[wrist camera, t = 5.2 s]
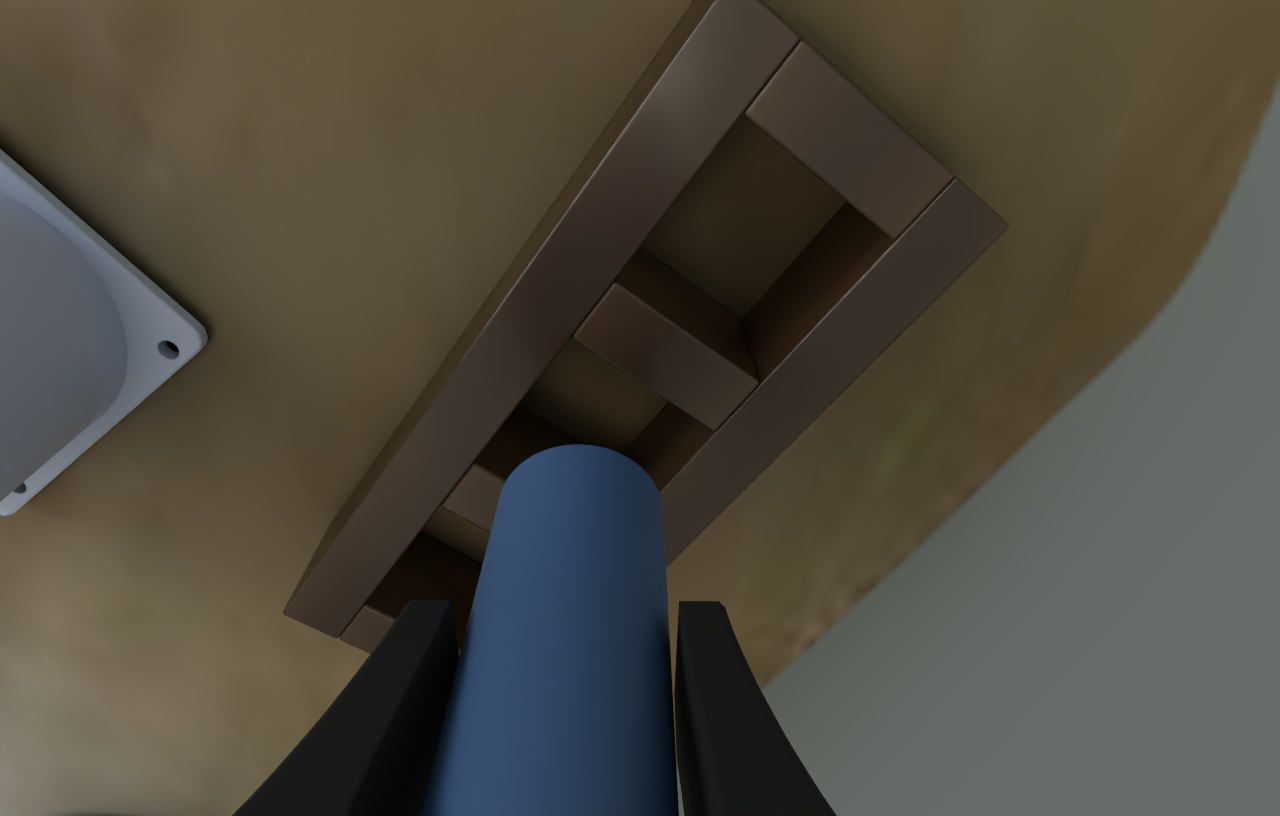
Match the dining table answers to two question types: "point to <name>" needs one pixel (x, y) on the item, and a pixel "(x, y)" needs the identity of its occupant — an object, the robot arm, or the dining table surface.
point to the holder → (661, 315)
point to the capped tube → (565, 652)
